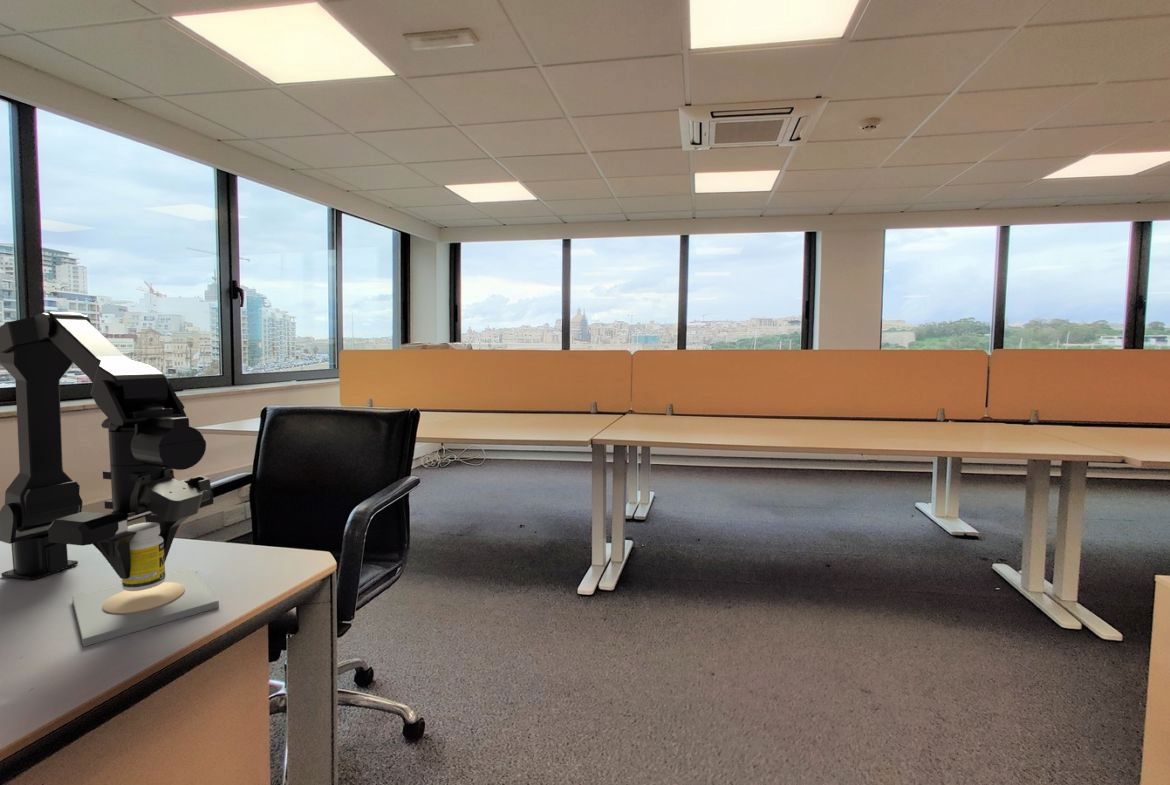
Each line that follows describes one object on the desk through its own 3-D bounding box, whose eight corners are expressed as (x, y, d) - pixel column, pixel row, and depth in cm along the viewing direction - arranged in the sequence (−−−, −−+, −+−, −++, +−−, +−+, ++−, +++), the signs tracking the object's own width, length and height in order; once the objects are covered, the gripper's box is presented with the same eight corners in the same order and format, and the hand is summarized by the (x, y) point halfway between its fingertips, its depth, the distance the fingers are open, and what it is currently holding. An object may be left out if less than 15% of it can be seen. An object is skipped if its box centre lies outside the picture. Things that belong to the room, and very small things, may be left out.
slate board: (72, 602, 76) (72, 593, 76) (192, 573, 86) (192, 565, 86) (83, 646, 65) (82, 636, 65) (218, 607, 76) (218, 598, 75)
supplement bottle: (168, 584, 76) (165, 526, 75) (124, 595, 72) (121, 535, 72) (162, 574, 79) (159, 518, 78) (119, 584, 76) (116, 526, 75)
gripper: (116, 482, 64) (123, 608, 65) (242, 452, 82) (246, 551, 83) (40, 476, 66) (48, 599, 67) (180, 448, 84) (184, 545, 85)
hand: (143, 570), depth 76 cm, fingers closed on supplement bottle, 5 cm apart
